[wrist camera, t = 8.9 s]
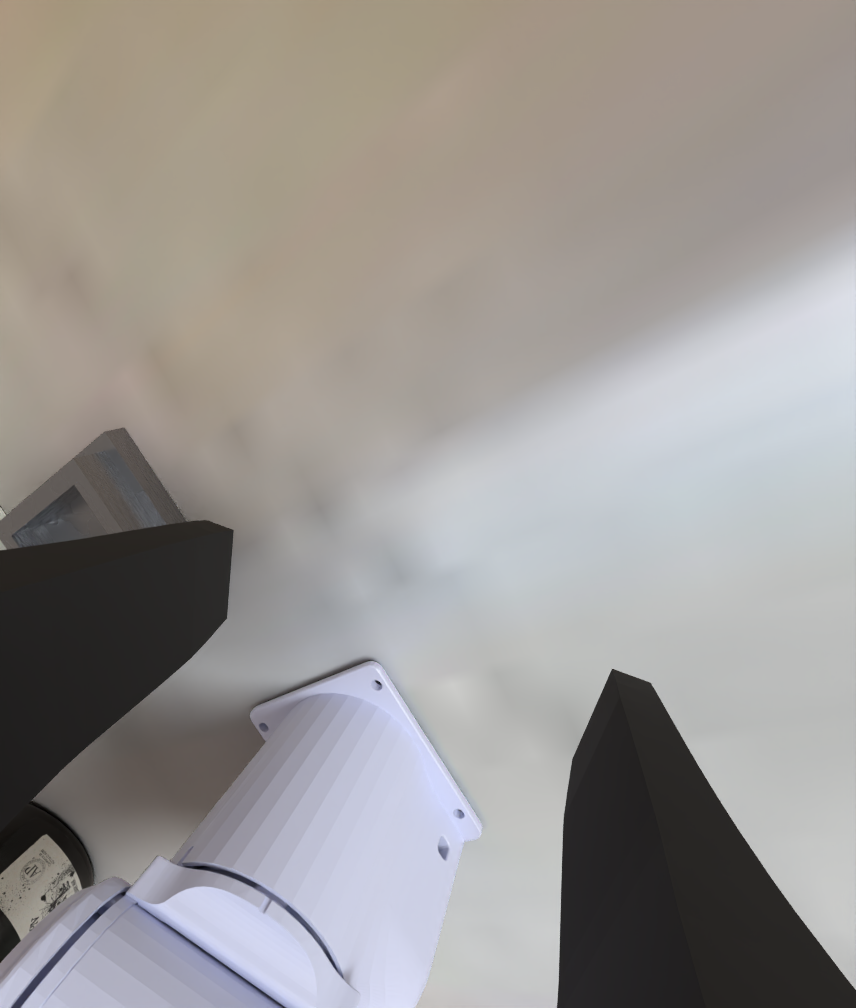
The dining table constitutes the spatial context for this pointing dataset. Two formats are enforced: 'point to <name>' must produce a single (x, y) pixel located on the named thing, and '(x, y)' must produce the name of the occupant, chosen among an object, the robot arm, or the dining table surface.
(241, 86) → the dining table surface
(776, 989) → the robot arm
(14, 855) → the ink bottle
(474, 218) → the dining table surface
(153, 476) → the socket base
